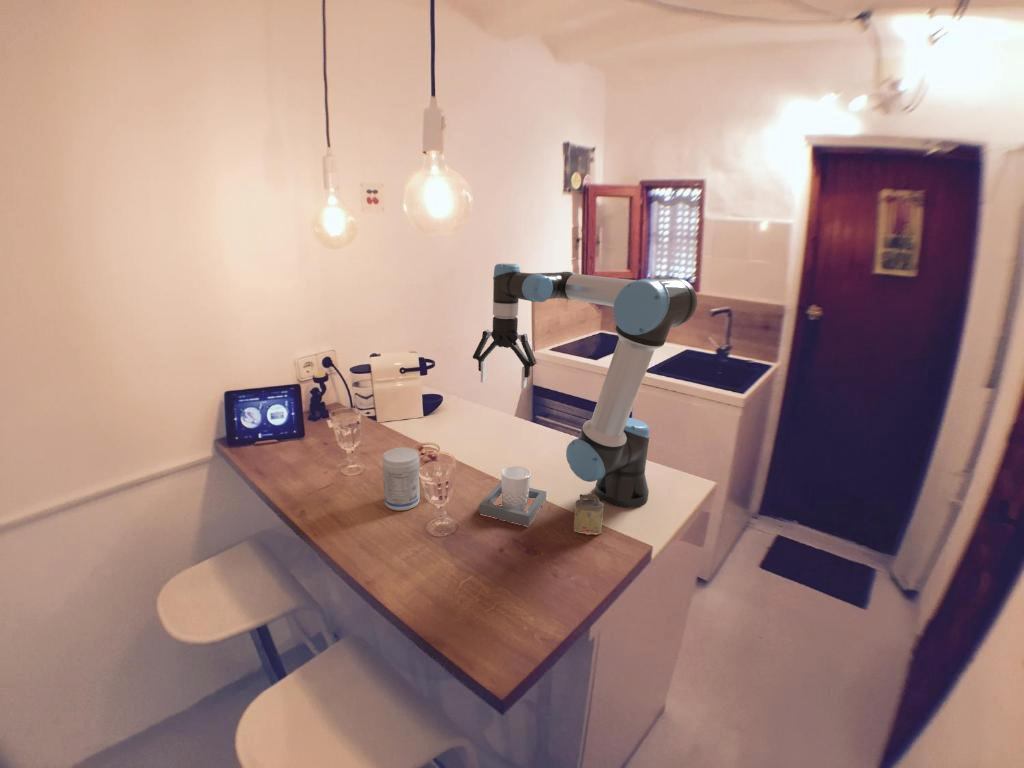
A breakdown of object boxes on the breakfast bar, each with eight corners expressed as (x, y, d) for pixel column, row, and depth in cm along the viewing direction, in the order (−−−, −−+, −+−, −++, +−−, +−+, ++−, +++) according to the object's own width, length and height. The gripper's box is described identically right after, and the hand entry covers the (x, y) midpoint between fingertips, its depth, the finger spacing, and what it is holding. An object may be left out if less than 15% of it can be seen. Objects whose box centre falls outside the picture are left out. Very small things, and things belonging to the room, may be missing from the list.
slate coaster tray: (545, 504, 139) (546, 491, 138) (528, 530, 127) (529, 516, 125) (500, 493, 144) (500, 481, 143) (479, 517, 132) (479, 504, 130)
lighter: (600, 528, 127) (604, 493, 124) (602, 537, 124) (605, 501, 121) (573, 526, 128) (575, 491, 125) (573, 534, 124) (576, 499, 121)
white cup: (526, 515, 131) (528, 481, 128) (497, 510, 132) (498, 477, 129) (531, 500, 138) (533, 467, 135) (503, 496, 140) (504, 464, 137)
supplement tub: (387, 494, 140) (385, 446, 136) (421, 493, 141) (420, 446, 137) (382, 512, 131) (379, 462, 127) (418, 511, 132) (417, 461, 128)
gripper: (548, 318, 148) (545, 386, 154) (473, 311, 156) (472, 376, 162) (541, 322, 141) (537, 393, 147) (462, 314, 149) (462, 381, 155)
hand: (503, 384), depth 155 cm, fingers open, 13 cm apart
